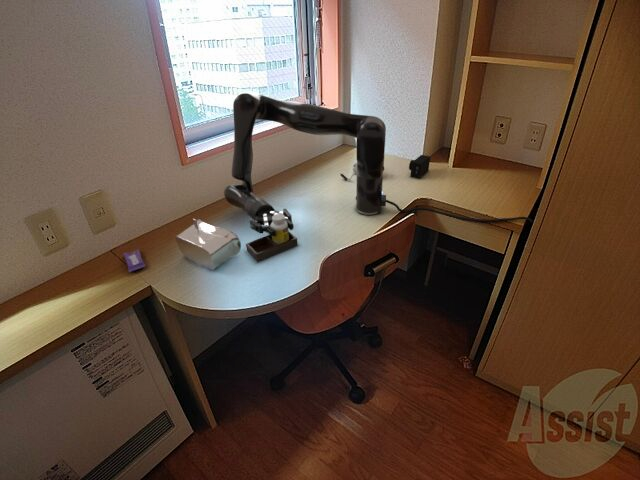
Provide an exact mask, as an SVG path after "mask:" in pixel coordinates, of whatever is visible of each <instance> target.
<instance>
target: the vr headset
mask: <svg viewBox="0 0 640 480" xmlns="http://www.w3.org/2000/svg"><path fill="white" fill-rule="evenodd" d="M192 222H193V224H191V225H190V226H189V227H188V228H186V229H185V230H183V231H182V232H180V233H178V234H177V235H176V236H175V242H176V245H177V247H178V249H179V251H180V252H181V254H182V255H183V256H184V258H186V259H188V260H190V261H192V262H193V263H195V264H197V265H200V266H201V267H203V268H207V269H209V270H210V271H211V270H212V271H214V270H216V269H217V268H218V267H220V266H221V265H222V264H224V263H225V262H227V261H228V260H229V259H231V258H232V257H234V256H237V255H238V254H239V253H240V252H241V249H242V242H241V239H240V238H239V236H238V234H236V233H235V232H233V231H232V230H228V229H226V228H222V227H219V226H215V225H212V224H209V223H206V222H205V221H203V220H202V219H201V218H198V219H196V218H193V217H192Z"/></svg>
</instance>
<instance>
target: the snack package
mask: <svg viewBox="0 0 640 480" xmlns="http://www.w3.org/2000/svg"><path fill="white" fill-rule="evenodd" d="M122 256H123V257H124V258H125V262H126V265H127V272H128V273H131V272H134V271H137V270H139V269H142V268H145V267H146V266H147V264H145V262H144V260H143V258H142V256H141V253H140V248H136V249H133V250H130V251H127V252H124V253H122Z"/></svg>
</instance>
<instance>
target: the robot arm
mask: <svg viewBox="0 0 640 480" xmlns="http://www.w3.org/2000/svg"><path fill="white" fill-rule="evenodd" d="M232 112H233V131H234V132H233V140H234V141H233V154H232V164H231V177H232V178H233V179H235V180H238V181H242V182H241V183H231V184H228V185H227V186H225V188H224V190H223V195H224V198H225V200H226V201H227V202H228V204H230V205H232V206H234V207H237V208H239V209H241V210H242V211H244V212H245V213H246V214H247V216H248V217H250V219H251V220H249V221H248V222H249V227H250V229H251V230H253V231H254V232H257V233H258V234H260V235H262V234H264V233H266V234H267V235H271V236H274V237H275V236H276V231H275V230H274V229H273V228H272V227H271V223H272V216H273V215H275V214H283V215H284V216H285V221H286V222H287V223H288V230H290V231H293V230H294V223H293V220H292V216H293V215H292V214H291V213H290V211H289V210H288V209H287V208H283V209H282V210H281V211H278V210H275V208H274V206H272V205H271V204H270V203H268V202H267V201H266V200H265V199H263V198H262V197H259V196H258V195H257V194H256V193H254V188H253V182H252V181H253V180H252V170H253V162H254V152H253V151H254V150H253V133H254V132H253V131H254V127H255V124H256V121H267V122H268V121H269V122H275V123H278V124H282V125H284V126H286V127H287V128H289V129H292V130H294V131H298V132H301V133H305V134H309V135H316V136H334V135H335V136H337V135H341V136H347V137H353V138H355V139H356V163H357V173H356V174H357V175H356V193H355V195H356V196H355V211H356V212H357V213H358V214H360V215H364V216H375V215H377V214H378V215H379V214H381V213H382V207H386V206H387V205H386V203H387V204H389V205H392V206H394V207H395V208H396V209H397V210H398V212H401V213H409V212H414V211H427V212H432V213H435V214H439V215H443V216H447V217H451V218H454V219H459V220H465V221H470V222H479V223H495V222H496V223H497V222H509V221H518V220H525V221H528V222H529V223H531V224H532V223H534V221H533V219H531V218H530V217H527V216H516V217H505V218H504V217H502V218H494V219H491V218H489V219H487V218H473V217H466V216H461V215H456V214H453V213H448V212H444V211H440V210H436V209H433V208H429V207H423V206H420V207H413V208H410V209H402V208H400V206H399V205H398V204H397V203H396V202H393V201H392V200H388V199H387V194H383V183H384V182H383V181H384V171H383V167H384V168H385V150H386V135H387V134H386V132H387V127H386V124H385V122H384V121H383V119H381V118H379V117H378V116H374V115H366V114H365V115H364V114H356V113H347V112H344V111H340V110H336V109H332V108H327V107H324V106H320V105H316V104H311V103H305V102H300V101H299V102H298V101H291V100H283V99H282V100H281V99H276V98H273V97H270V96H267V95H264V94H261V93H260V92H259V93H258V92H256V91H245V92H241V93H239V94H238V95H237V96H235V98H234V100H233V104H232Z"/></svg>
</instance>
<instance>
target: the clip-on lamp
mask: <svg viewBox="0 0 640 480" xmlns="http://www.w3.org/2000/svg"><path fill="white" fill-rule="evenodd" d="M384 171H385V166H384V167H383V172H384ZM352 172H353V173H352V175H351V177H350V179H349V178H348V177H347V176H346V175H345V174H344V173H340V172H339V174H340V177H341V178H342V179H343V180H345V181H348V182H349V181H351V180H352V178H353V177H354V176H357V162H355V163H354V164H353V166H352Z"/></svg>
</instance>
